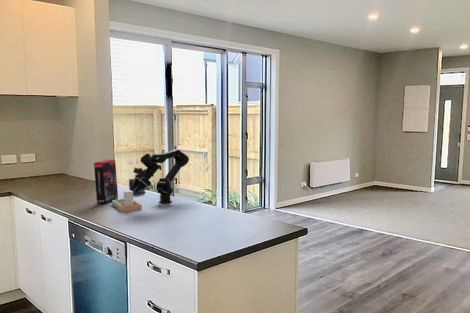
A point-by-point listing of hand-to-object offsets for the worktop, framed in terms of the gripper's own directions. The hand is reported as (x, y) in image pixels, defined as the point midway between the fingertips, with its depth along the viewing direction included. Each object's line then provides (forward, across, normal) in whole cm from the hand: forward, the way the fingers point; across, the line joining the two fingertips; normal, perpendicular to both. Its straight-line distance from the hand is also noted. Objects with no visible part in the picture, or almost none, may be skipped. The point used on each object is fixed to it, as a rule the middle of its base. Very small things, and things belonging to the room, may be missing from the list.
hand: (133, 190), depth 244 cm
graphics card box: (+16, -28, 0) cm, 32 cm away
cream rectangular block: (+10, 0, +6) cm, 12 cm away
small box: (-1, -45, +17) cm, 48 cm away
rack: (+10, -5, +5) cm, 13 cm away
